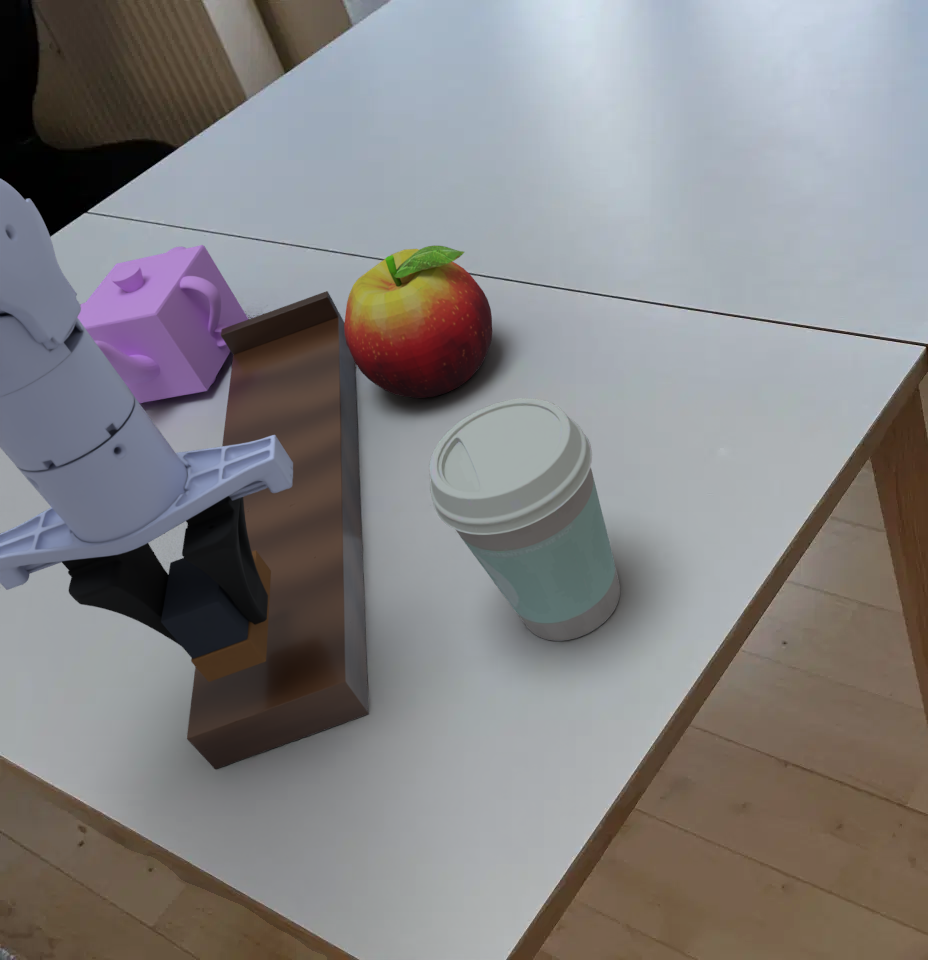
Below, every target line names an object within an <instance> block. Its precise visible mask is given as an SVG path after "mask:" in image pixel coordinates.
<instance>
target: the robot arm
mask: <svg viewBox="0 0 928 960" xmlns="http://www.w3.org/2000/svg"><path fill="white" fill-rule="evenodd" d="M77 296H78V293H77V291H75V289H74V287H73V286H72V285H71V282H69V280H68V279H67V278H66V276H65V275H64V273H63V271H62V269H61V266H60V265H59V262H58V259H57V257H56V253H55V248H54V244H53V241H52V238H51V235H50V233H49V230H48V228H47V226H46V223H45V221H44V219H43V217H42V215H41V213H40V211H39V209H38V207H36V205H35V203H34V202H33V201H32V199H31V198H24V197H23V196H22V195H21V194H20V192H18V191H17V190H16V188H14V187H13V186H12V185H11V184H9V183H8V182H7V181H5V180H3V179H2V178H0V449H1V450H2V452H3V454H5V455H6V456H7V458H8V459H9V460H10V461H11V463H12V464H13V465H14V466H15V467H16V468H17V469H18V471H20V473H21V474H22V475H23V476H24V477H25V478H26V480H27V481H28V482H29V483H30V484H31V486H32V487H33V488H34V489H35V490H36V491H37V493H38V494H39V495H40V496H41V497H42V498H43V499H44V501H45V502H46V503H47V504H48V505H49V508H47V509H46V510H44V511H42V512H40V513H38V514H37V515H35V516H33V517H31V518H29V519H28V520H26V521H24V522H22V523H20V524H18V525H16V526H14V527H11V528H9V529H8V530H5V531H3V532H0V585H1V586H2V587H3V588H4V589H5V590H7V591H9V590H11V589H15V588H17V587H19V586H23V585H24V584H26V583H27V582H28V581H29V579H30V574H33V573H36V572H39V571H41V570H44V569H47V568H49V567H52V566H55V565H58V564H60V563H62V565H63V566H64V567H65V568H66V569H67V570H68V571H67V574H68V575H69V576H70V581H69V586H68V594H69V595H70V597H72V598H73V599H74V601H75V602H77V603H78V604H79V605H83V606H88V607H94V608H98V609H103V610H107V611H110V612H114V613H116V614H120V615H122V616H125V617H127V618H130V619H132V620H134V621H137V622H139V623H141V624H143V625H145V626H146V627H149V628H151V629H152V630H154V631H156V632H157V633H159V634H161V635H163V636H164V637H166V638H167V639H169V640H171V641H173V642H174V643H176V644H178V645H179V646H180V647H182V646H181V645H180V644H179V643H178V641H177V640H176V639H175V638H174V637H173V636H172V634H171V633H170V632H169V631H168V630H167V629H166V627H165V626H164V625H163V624H162V623H161V619H162V612H163V606H164V600H165V593H166V587H167V581H168V575H169V572H167V571H166V569H165V568H164V566H163V564H162V563H161V561H160V560H159V559H158V557H157V555H156V553H155V552H154V550H153V548H152V546H151V544H150V543H151V542H152V541H154V540H156V539H158V538H159V537H161V536H163V535H164V534H166V533H168V532H169V531H171V530H173V529H175V528H176V527H178V526H180V525H181V524H183V523H185V522H186V524H187V525H186V528H185V530H184V537H183V544H182V550H181V556H182V558H185V559H186V560H187V561H188V562H190V563H192V564H194V565H195V566H197V567H198V568H200V569H201V570H202V571H204V572H205V573H206V574H208V575H209V576H210V577H211V578H212V579H213V580H214V581H216V582H217V583H218V584H219V585H220V586H221V587H222V588H223V589H224V591H225V592H226V593H227V594H228V595H229V597H230V598H231V600H232V601H233V602H234V604H235V605H236V606H237V608H238V609H239V610H240V612H241V613H242V614H243V616H244V617H245V618H246V619H247V620H248V621H250V622H252V623H253V624H254V625H256V624H259V623H261V622H264V621H265V620H266V619H267V606H268V594H267V592H266V590H265V588H264V586H263V584H262V581H261V579H260V576H259V574H258V571H257V568H256V565H255V562H254V559H253V556H252V552H251V548H250V544H249V539H248V533H247V527H246V521H245V512H244V501H243V497H244V496H247V495H249V494H252V493H255V492H258V491H260V490H263V489H266V488H269V490H270V491H271V493H278V492H280V491H283V490H286V489H289V488H291V487H292V479H293V462H292V460H291V459H290V457H289V456H288V454H287V453H286V451H285V449H284V448H283V446H282V445H281V443H280V442H279V440H278V438H277V437H276V435H272V436H269V437H266V438H263V439H260V440H256V441H252V442H248V443H242V444H236V445H229V446H215V447H207V448H200V449H192V450H186V451H179V452H178V451H177V452H176V451H175V450H174V449H173V447H172V445H170V443H169V442H168V440H167V439H166V438H165V436H164V435H163V434H162V432H161V431H160V429H159V428H158V427H157V425H156V424H155V422H154V421H153V419H152V418H151V417H150V416H149V414H148V413H147V412H146V410H145V409H144V408H143V406H142V405H141V403H139V402H138V401H137V399H136V398H135V397H134V395H133V394H132V392H131V391H130V389H129V388H128V386H127V385H126V384H125V382H124V381H123V380H122V378H121V377H120V375H119V374H118V373H117V371H116V370H115V369H114V367H113V366H112V365H111V363H110V362H109V360H108V359H107V358H106V356H105V355H104V354H103V352H102V351H101V349H100V348H99V347H98V345H97V344H96V343H95V341H94V340H93V338H92V337H91V336H90V334H89V333H88V332H87V330H86V329H85V327H84V326H83V325H82V323H81V322H80V320H79V319H78V318H77V317H78V315H79V313H80V312H81V306H80V304H81V303H80V301H78V299H77Z"/></svg>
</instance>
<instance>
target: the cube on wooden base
mask: <svg viewBox="0 0 928 960" xmlns="http://www.w3.org/2000/svg"><path fill="white" fill-rule="evenodd" d="M252 556H253V559H254V562H255V565H256V568H257V571H258V574H259V576H260V579H261V581H262V584H263V586H264V588H265V590H266V592H267V594H268V606H267V619H266V620H265V621H264V622H261V623H259V624H256V625H254V624H253V623H252V622H250V621H248V620H247V619H246V618H245V617H244V616H243V614H242V613H241V612H240V610H239V609H238V608H237V606H236V605H235V604H234V602H233V601H232V600H231V598H230V597H229V595H228V594H227V593H226V592H225V591H224V589H223V588H222V587H221V586H220V585H219V584H218V583H217V582H216V581H214V580H213V579H212V578H211V577H210V576H209V575H208V574H206V573H205V572H204V571H202V570H201V569H200V568H198V567H197V566H195V565H194V564H192V563H190V562H188V561H187V560H186V559H185V558H184V557H182V558H179V559H177V560H174V561H171V562H170V563H169V569H168V581H167V587H166V593H165V600H164V606H163V612H162V619H161V623H162V624H163V625H164V626H165V627H166V629H167V630H168V631H169V632H170V633H171V634H172V636H173V637H174V638H175V639H176V640H177V641H178V643H179V644H180V645H181V646H180V645H179V644H178V645H179V646H180V647H182V649H183V650H184V651H185V652H186V653H187V655H188V656H189V657H190V658H191V660H190V661H191V663H192V664H193V666H194V667H196V668H197V669H198V670H199V671H200V672H201V674H202V675H203V676H204V677H205V678H206V679H207V681H208V682H211V681H213V680H216V679H219V678H222V677H224V676H227V675H230V674H233V673H235V672H238V671H241V670H244V669H247V668H249V667H252V666H255V665H258V664H260V663H263V662H265V661H266V654H267V635H268V617H269V599H270V580H271V570H270V569H269V567H268V566H267V565H266V563H265V562H264V561H263V559H262V558H261V556H260V555H259V554H258V552H257V551H256V550H255V551H252Z"/></svg>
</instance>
